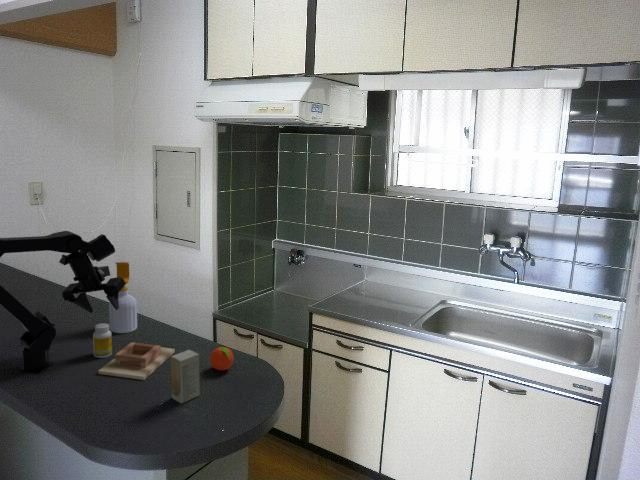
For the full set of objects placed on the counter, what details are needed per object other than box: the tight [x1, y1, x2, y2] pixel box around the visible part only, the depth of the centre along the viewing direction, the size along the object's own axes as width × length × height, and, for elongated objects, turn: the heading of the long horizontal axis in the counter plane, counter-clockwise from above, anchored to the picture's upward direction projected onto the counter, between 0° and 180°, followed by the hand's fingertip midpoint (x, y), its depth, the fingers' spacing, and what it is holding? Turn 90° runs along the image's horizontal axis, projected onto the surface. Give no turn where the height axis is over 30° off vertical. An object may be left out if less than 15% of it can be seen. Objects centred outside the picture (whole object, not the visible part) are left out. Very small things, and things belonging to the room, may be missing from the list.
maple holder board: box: [97, 341, 176, 381], centre depth 159 cm, size 20×14×4 cm
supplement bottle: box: [92, 323, 113, 359], centre depth 162 cm, size 5×5×10 cm
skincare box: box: [170, 349, 200, 404], centre depth 139 cm, size 6×4×12 cm
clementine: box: [209, 346, 234, 371], centre depth 156 cm, size 8×7×7 cm
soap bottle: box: [108, 261, 138, 334], centre depth 181 cm, size 9×9×25 cm
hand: (104, 310), depth 165 cm, fingers open, 9 cm apart
